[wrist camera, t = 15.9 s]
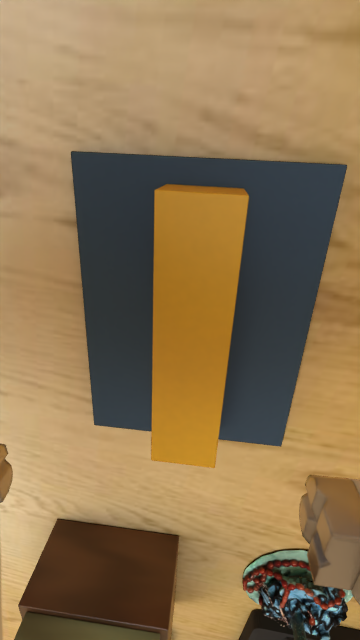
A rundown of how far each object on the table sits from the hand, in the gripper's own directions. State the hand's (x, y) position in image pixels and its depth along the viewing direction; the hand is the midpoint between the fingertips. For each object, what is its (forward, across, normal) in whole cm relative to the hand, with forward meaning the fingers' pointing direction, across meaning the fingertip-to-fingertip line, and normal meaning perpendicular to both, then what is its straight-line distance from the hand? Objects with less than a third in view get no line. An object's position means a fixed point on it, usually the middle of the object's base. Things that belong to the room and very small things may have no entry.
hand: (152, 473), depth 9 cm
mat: (+10, -1, 0) cm, 10 cm away
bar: (+10, -1, 0) cm, 10 cm away
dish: (+10, -10, +23) cm, 28 cm away
